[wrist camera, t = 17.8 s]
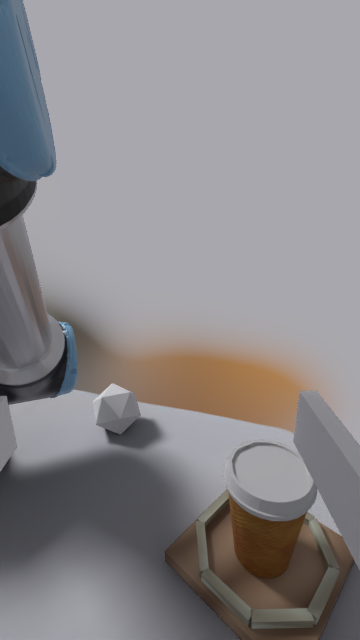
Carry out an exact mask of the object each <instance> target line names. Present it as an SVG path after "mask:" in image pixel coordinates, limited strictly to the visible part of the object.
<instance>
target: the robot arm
mask: <svg viewBox="0 0 360 640" xmlns="http://www.w3.org/2000/svg"><path fill="white" fill-rule="evenodd" d="M55 168H56V154H55V147H54V141H53V135H52V129H51V123H50V118H49V113H48V109H47V106H46V100H45V96H44V91H43V87H42V83H41V77H40V71H39V67H38V62H37V57H36V53H35V49H34V45H33V40H32V36H31V32H30V28H29V24H28V19H27V15H26V12H25V8H24V4H23V0H0V471H1V470H2V469H3V467H4V466H5V464H6V463H7V461H8V460H9V458H10V457H11V455H12V454H13V452H14V451H15V449H16V448H17V443H16V439H15V434H14V429H13V424H12V420H11V415H10V410H9V405H10V404H16V403H21V402H27V401H32V400H38V399H44V398H49V397H50V398H55V397H57V396H59V395H63V394H67V393H69V392H71V391H72V390H73V389H74V388H75V385H76V381H77V369H76V367H77V353H76V343H75V337H74V332H73V329H72V327H71V325H70V324H69V323H62V322H57V321H56V320H55V319H54V318H53V317H52V316H50V315H49V314H47V311H46V307H45V303H44V299H43V295H42V291H41V287H40V283H39V279H38V275H37V271H36V267H35V263H34V259H33V255H32V251H31V247H30V243H29V239H28V234H27V231H26V226H25V223H24V218H23V213H24V212H25V211H26V210H27V208H28V207H29V206H30V204H31V202H32V200H33V198H34V196H35V193H36V188H37V180H38V179H40V178H42V177H47V176H50V175H52V173H53V172H54V171H55ZM293 442H294V444H295V446H296V448H297V450H298V452H299V454H300V455H301V457H302V459H303V461H304V463H305V465H306V467H307V469H308V471H309V473H310V475H311V477H312V479H313V481H314V483H315V485H316V487H317V489H318V491H319V493H320V494H321V496H322V498H323V500H324V502H325V504H326V506H327V508H328V510H329V512H330V514H331V516H332V518H333V520H334V522H335V524H336V526H337V528H338V530H339V531H340V533H341V535H342V537H343V539H344V541H345V543H346V545H347V547H348V549H349V551H350V553H351V555H352V557H353V559H354V561H355V563H356V565H357V567H358V569H359V570H360V445H359V444H358V443H357V441H356V440H355V439H354V438H353V436H352V435H351V434H350V433H349V431H348V430H347V429H346V427H345V426H344V425H343V424H342V422H341V421H340V420H339V419H338V417H337V416H336V415H335V413H334V412H333V411H332V410H331V408H330V407H329V406H328V405H327V403H326V402H325V401H324V400H323V398H322V397H321V396H320V394H319V393H318V392H317V391H300V393H299V401H298V409H297V417H296V425H295V433H294V441H293Z"/></svg>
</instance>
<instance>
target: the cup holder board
mask: <svg viewBox="0 0 360 640" xmlns="http://www.w3.org/2000/svg"><path fill="white" fill-rule="evenodd" d="M229 502H230V501H229V494H228V489H227V490H226V491H225V492H224V493H223V494H222V495H221V496H220V497H219V498H218V499H217V500H216V501H215V502H214V503H213V504H212V505H211V506H210V507H209V508H208V509H207V510H206V511H204V512H203V513H202V514H201V515H200V516H199V517H198V518H197V520H196V521H195V522H194V523H193V524H192V525H191V526H190V527H189V528H188V529H187V530H186V531H185V532H184V533H183V534H182V535H181V536H180V537H179V538H178V539H177V540H176V541H175V542H174V543H173V544H172V545H171V546H170V547H169V548H168V549H167V550H166V551H165V560H166V562H167V563H168V564H169V565H170V566H171V567H172V568H173V569H174V570H175V571H176V572H177V573H178V574H179V575H180V576H181V577H182V578H183V579H184V580H185V581H186V582H187V583H188V584H189V585H190V586H191V587H192V589H193V590H194V591H195V592H196V593H197V594H198V595H199V596H200V597H201V598H202V599H203V600H204V601H205V602H206V603H207V604H208V605H209V606H210V607H211V608H212V609H213V610H214V611H215V612H216V613H217V615H218V616H219V617H220V618H221V619H222V620H223V621H224V622H225V623H226V624H227V625H228V626H229V627H230V628H231V629H232V630H233V631H234V632H235V633H236V634H237V635H238V636H239V637H240V638H241V639H242V640H320V637H321V635H322V633H323V630H324V628H325V626H326V624H327V621H328V619H329V617H330V615H331V612H332V610H333V608H334V606H335V603H336V601H337V599H338V597H339V594H340V592H341V590H342V588H343V585H344V583H345V581H346V578H347V576H348V574H349V572H350V569H351V567H352V565H353V563H354V559H353V557H352V555H351V553H350V551H349V549H348V547H347V545H346V543H345V541H344V539H343V537H342V536H340V535H339V534H337V533H335V532H334V531H332V530H331V529H329V528H328V527H326V526H324V525H323V524H321V523H320V522H318V520H317V519H314V516H313V515H312V514H310V513H308V512H307V513H306V516H305V519H304V522H303V525H302V527H301V531H300V533H299V536H298V539H297V542H296V545H295V548H294V551H293V554H292V556H291V559H290V562H289V565H288V568H287V569H286V571H285V572H284V573H283V574H281V575H280V576H278V577H275V578H269V579H267V578H260V577H258V576H255V575H253V574H251V573H250V572H248V571H247V570H246V569H245V568H244V567H243V566H242V565H241V563H240V562H239V560H238V559H237V556H236V554H235V550H234V540H233V530H232V522H231V512H230V503H229Z"/></svg>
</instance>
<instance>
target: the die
mask: <svg viewBox="0 0 360 640" xmlns="http://www.w3.org/2000/svg"><path fill="white" fill-rule="evenodd" d="M92 403H93V409H94V416H95V422H96V425H98V426H100V427H103V428H105V429H108V430H110V431H112V432H115V433H117V434H120V435H121V434H122V433H123V432H124V431H125V430H126V429H127V428H128V427H129V426H130V425H131V424H132V423H133V422H134V421H135V420H136V419H137V418H138V417H139V416H140V415H141V414H140V411H139V407H138V403H137V400H136V396H135V394H134V393H132V392H130V391H128V390H125V389H124V388H121V387H119V386H117V385H115V384H113V383H112V384H111V385H110V386H109V387H108V388H107V389H106V390H105V391H104V392H103V393H102V394H100V395H99V396H98V397H97V398H96V399H95V400H94V401H93V402H92Z"/></svg>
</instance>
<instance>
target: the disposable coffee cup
mask: <svg viewBox="0 0 360 640" xmlns="http://www.w3.org/2000/svg"><path fill="white" fill-rule="evenodd" d="M223 478H224V482H225V485H226V488H227V489H228V494H229V501H230V502H229V503H230V512H231V522H232V530H233V540H234V550H235V554H236V556H237V559H238V560H239V562H240V563H241V565H242V566H243V567H244V568H245V569H246V570H247V571H248V572H250V573H251V574H253V575H255V576H258V577H260V578H267V579H269V578H275V577H278V576H280V575H281V574H283V573H284V572H285V571H286V569H287V568H288V565H289V562H290V559H291V556H292V554H293V551H294V548H295V545H296V542H297V539H298V536H299V533H300V531H301V527H302V525H303V522H304V519H305V516H306V513H307V511H308V510H309V509H310V508H311V506H312V505H313V504H314V502H315V500H316V496H317V487H316V485H315V483H314V481H313V479H312V477H311V475H310V473H309V471H308V469H307V467H306V465H305V463H304V461H303V459H302V457H301V455H300V454H299V453H298V452H296V451H295V450H293V449H292V448H290V447H288V446H286V445H283V444H281V443H278V442H274V441H269V440H253V441H248V442H245V443H242V444H240V445H238V446H237V447H236V448H235V449H234V450H233V451H232V452H231V454H230V456H229V458H228V459H227V461H226V462H225V465H224V469H223Z"/></svg>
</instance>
